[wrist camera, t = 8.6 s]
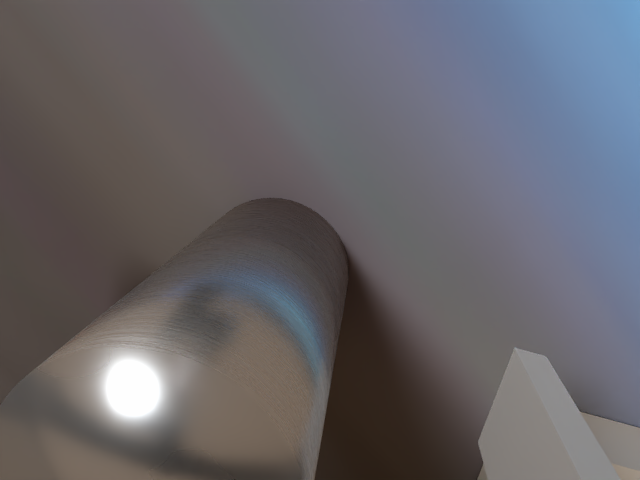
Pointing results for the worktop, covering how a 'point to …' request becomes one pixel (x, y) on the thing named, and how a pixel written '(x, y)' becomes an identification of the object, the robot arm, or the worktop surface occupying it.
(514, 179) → the worktop surface
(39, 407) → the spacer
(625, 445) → the scale
